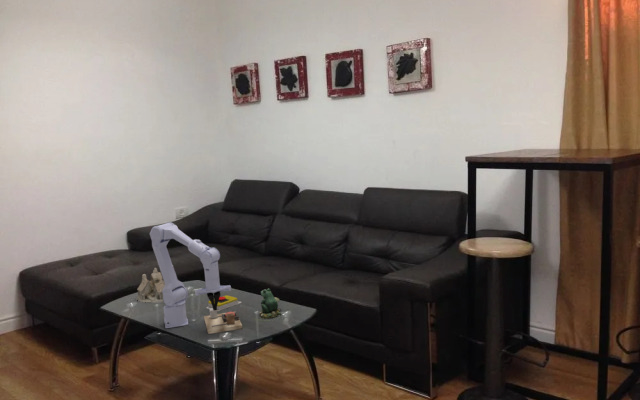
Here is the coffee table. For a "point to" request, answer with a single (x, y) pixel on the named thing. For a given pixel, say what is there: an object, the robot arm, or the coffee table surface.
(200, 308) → the coffee table surface
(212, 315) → the grey slider
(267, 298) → the frog figurine
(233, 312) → the red push button
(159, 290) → the ceramic cottage
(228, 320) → the walnut slider
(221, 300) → the emergency button
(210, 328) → the control panel
